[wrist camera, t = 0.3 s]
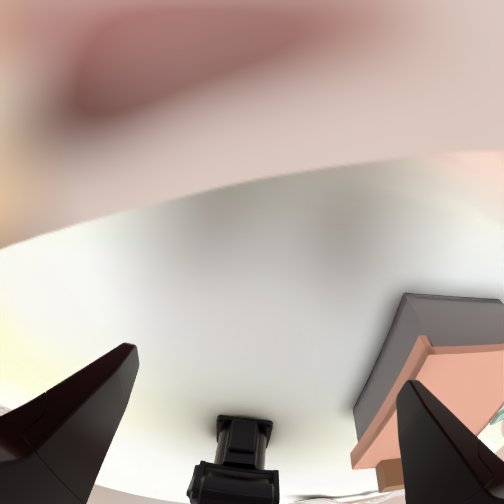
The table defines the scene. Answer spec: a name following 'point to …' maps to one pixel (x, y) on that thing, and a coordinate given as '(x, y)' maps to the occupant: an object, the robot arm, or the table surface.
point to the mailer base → (438, 333)
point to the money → (498, 416)
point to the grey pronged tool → (328, 503)
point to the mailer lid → (446, 390)
